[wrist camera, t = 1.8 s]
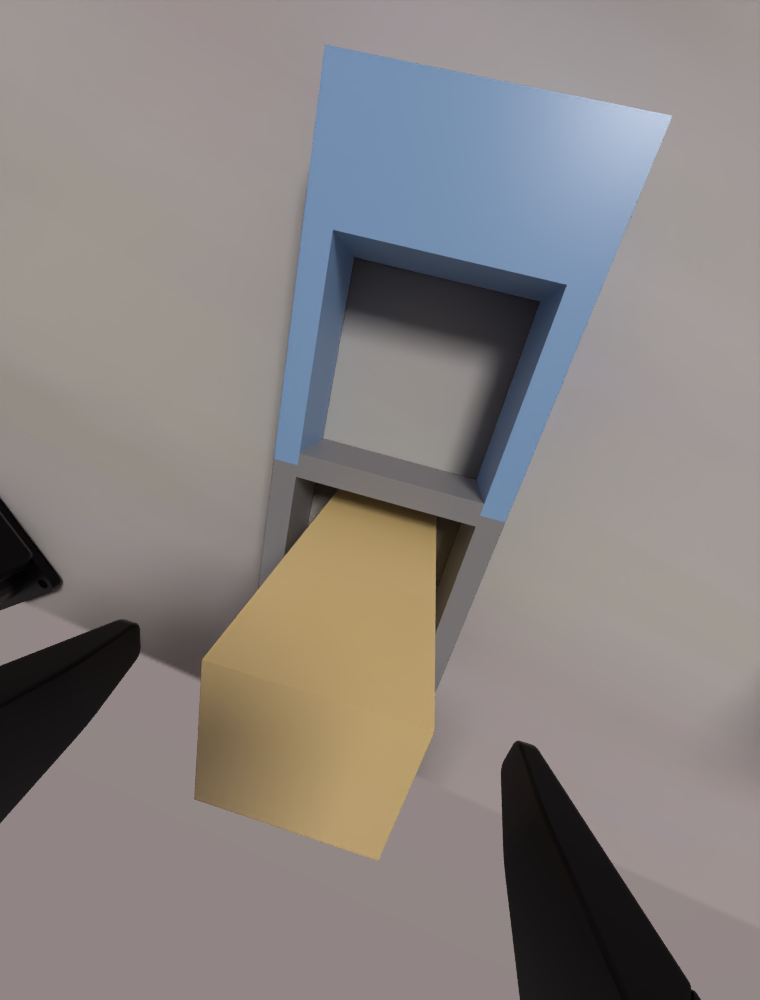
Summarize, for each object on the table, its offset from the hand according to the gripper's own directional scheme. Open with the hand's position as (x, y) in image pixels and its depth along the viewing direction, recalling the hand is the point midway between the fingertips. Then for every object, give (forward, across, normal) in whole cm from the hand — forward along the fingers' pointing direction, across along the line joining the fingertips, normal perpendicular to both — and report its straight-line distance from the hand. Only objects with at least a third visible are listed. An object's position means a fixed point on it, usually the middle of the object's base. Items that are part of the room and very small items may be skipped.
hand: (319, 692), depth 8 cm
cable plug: (+7, 0, 0) cm, 7 cm away
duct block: (+7, 0, -4) cm, 8 cm away
